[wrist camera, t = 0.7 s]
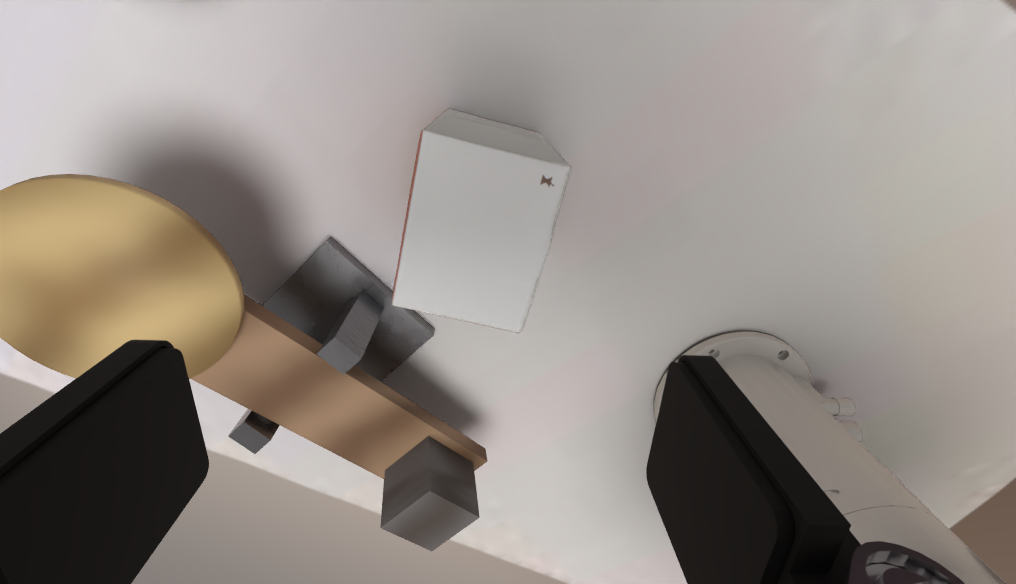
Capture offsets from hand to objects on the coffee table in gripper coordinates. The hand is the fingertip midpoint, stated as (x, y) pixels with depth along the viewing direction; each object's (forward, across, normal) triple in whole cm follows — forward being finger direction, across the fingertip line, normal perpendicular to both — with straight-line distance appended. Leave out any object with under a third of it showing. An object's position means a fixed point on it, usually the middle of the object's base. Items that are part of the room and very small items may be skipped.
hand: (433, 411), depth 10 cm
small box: (+25, -1, 0) cm, 25 cm away
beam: (+19, +11, +11) cm, 25 cm away
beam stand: (+25, +10, +12) cm, 30 cm away
